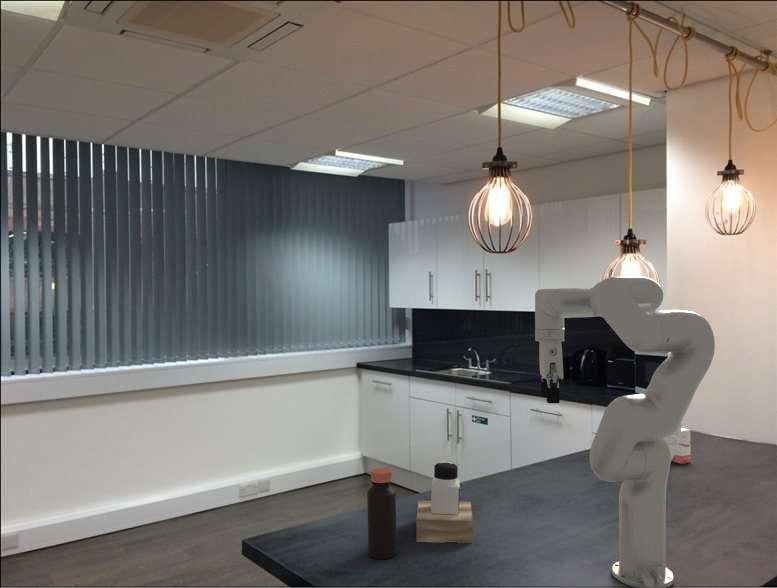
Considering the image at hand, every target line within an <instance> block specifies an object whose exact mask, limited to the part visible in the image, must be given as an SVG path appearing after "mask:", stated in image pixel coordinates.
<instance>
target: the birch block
mask: <svg viewBox="0 0 777 588" xmlns="http://www.w3.org/2000/svg"><path fill="white" fill-rule="evenodd" d="M417 503H418V504H417V510H416V511H417V512H416V520H415V524H416V531H415V532H416V536H415V537H416V540H415V541H416V542H417V543H445V542H458V543H457V544H473V543H474V538H473V537H474V536H473V533H474V531H473V528H474V527H473V525H474V524H473V523H474V521H473V511H472V503H471V501H460V500H459V515H452V514H433V513H431V500H418V501H417ZM461 542H462V543H461Z"/></svg>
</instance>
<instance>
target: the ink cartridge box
mask: <svg viewBox="0 0 777 588" xmlns="http://www.w3.org/2000/svg"><path fill="white" fill-rule="evenodd" d="M663 439H664V440H665V441H666V442H667V444H668V446H669V448H670V452H671V462H673V463H677V464H679V465H683V464H690V463H691V460H692V459H691V458H692V457H691V453H692V452H691V450H692V449H691V446H692V445H691V429H688V428H685V427H684V428H683V427H682V423H681V424H680V426H679V428H678V430H677V431H676V432H675V433H674V434H673V435H672V436H669V437H666V438H663Z"/></svg>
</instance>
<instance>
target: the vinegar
mask: <svg viewBox="0 0 777 588" xmlns="http://www.w3.org/2000/svg"><path fill="white" fill-rule="evenodd" d="M392 479H393V478H392V470H391V469H390V468H381V467H379V468H374V469H371V471H370V481H371V484H372V486H371V487H370V488H369V489H368V490H367V493H366V494H367V496H366V497H367V498H366V499H367V500H366V501H367V554H368V556H370V557H371V558H372V559H375V560H388V559H391V558H394V556H396V554H397V513H396V512H397V498H396V497H397V496H396V495H397V494H396V493H397V492H396V489H394V488H393V487H392V485H391V484H392Z"/></svg>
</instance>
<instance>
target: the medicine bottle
mask: <svg viewBox="0 0 777 588" xmlns="http://www.w3.org/2000/svg"><path fill="white" fill-rule="evenodd" d="M458 469H459V467H458V465H456V463H453V462H450V461H440V462H438V463H435V464H434V468H433V470H434V471H433V473H434V474H433V475H434V476H433V478H432V481H431V490H430V491H431V494H430V495H431V497H430V498H431V499H430V501H431V513H433V514H452V515H459V501H460V492H461V491H460V490H461V489H460V488H461V486H460V479H459V478H458V477H459V476H458V471H459V470H458Z"/></svg>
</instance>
